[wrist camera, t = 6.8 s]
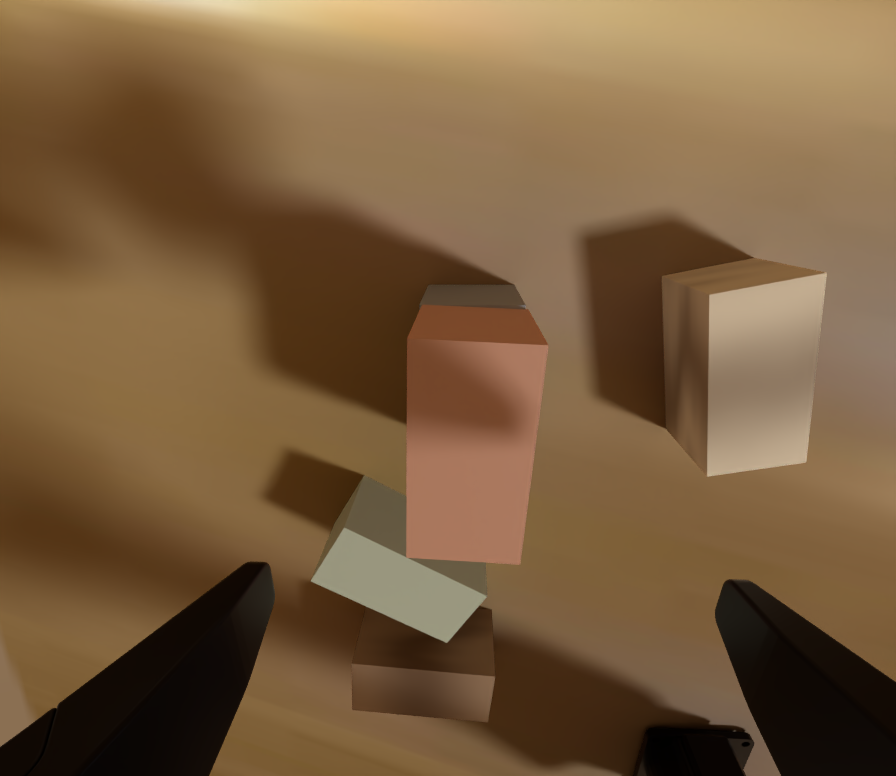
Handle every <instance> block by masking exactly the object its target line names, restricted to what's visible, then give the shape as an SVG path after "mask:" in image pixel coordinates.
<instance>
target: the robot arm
mask: <svg viewBox="0 0 896 776" xmlns="http://www.w3.org/2000/svg"><path fill="white" fill-rule="evenodd" d="M274 600H275V590H274V585H273V580H272V574H271V569H270V566H269V564H268V563H266V562H247V563H245V564H243V565H242V566H241V567H239V568H238V569H237V570H235V571H234V572H233V573H231V574H230V575H229V576H227V577H226V578H225V579H223V580H222V581H221V582H219V583H218V584H217V585H215V586H214V587H213V588H211V589H210V590H209V591H207V592H206V593H205V594H203V595H202V596H201V597H199V598H198V599H197V600H196V601H194V602H193V603H192V604H190V605H189V606H188V607H186V608H185V609H184V610H182V611H181V612H180V613H178V614H177V615H176V616H174V617H173V618H172V619H170V620H169V621H168V622H166V623H165V624H164V625H162V626H161V627H160V628H158V629H157V630H156V631H154V632H153V633H152V634H150V635H149V636H148V637H146V638H145V639H144V640H142V641H141V642H140V643H138V644H137V645H136V646H134V647H133V648H132V649H131V650H129V651H128V652H127V653H125V654H124V655H123V656H121V657H120V658H119V659H117V660H116V661H115V662H113V663H112V664H111V665H109V666H108V667H107V668H105V669H104V670H103V671H101V672H100V673H99V674H97V675H96V676H95V677H93V678H92V679H91V680H89V681H88V682H87V683H85V684H84V685H83V686H81V687H80V688H79V689H77V690H76V691H75V692H73V693H72V694H71V695H69V696H68V697H67V698H65V699H64V700H63V701H62V702H60V703H59V704H58V706H57V709H56V708H52V709H51V710H49V711H48V712H47V713H45V714H44V715H43V716H41V717H40V718H39V719H37V720H36V721H35V722H33V723H32V724H31V725H29V726H28V727H27V728H25V729H24V730H23V731H21V732H20V733H19V734H17V735H16V736H15V737H13V738H12V739H10V740H9V741H8V742H6V743H5V744H4V745H2V746H1V747H0V776H209V775H210V772H211V770H212V768H213V765H214V763H215V761H216V758H217V756H218V754H219V751H220V749H221V747H222V744H223V742H224V740H225V737H226V735H227V733H228V730H229V728H230V726H231V723H232V721H233V719H234V716H235V714H236V712H237V709H238V707H239V705H240V702H241V700H242V698H243V695H244V693H245V690H246V688H247V685H248V682H249V680H250V677H251V674H252V671H253V668H254V665H255V661H256V658H257V655H258V652H259V649H260V646H261V643H262V639H263V636H264V633H265V630H266V627H267V624H268V621H269V617H270V614H271V611H272V608H273V605H274ZM715 618H716V623H717V626H718V628H719V631H720V634H721V636H722V639H723V642H724V644H725V647H726V650H727V652H728V655H729V658H730V660H731V663H732V666H733V668H734V671H735V674H736V676H737V679H738V682H739V684H740V687H741V690H742V692H743V695H744V697H745V700H746V702H747V705H748V707H749V709H750V712H751V714H752V716H753V718H754V720H755V722H756V725H757V727H758V729H759V731H760V733H761V735H762V737H763V739H764V741H765V743H766V745H767V747H768V749H769V751H770V754H771V756H772V758H773V760H774V762H775V764H776V766H777V768H778V770H779V772H780V774H781V776H896V682H895V681H894V680H892V679H891V678H889V677H888V676H886V675H885V674H884V673H882V672H881V671H879V670H878V669H876V668H875V667H873V666H872V665H871V664H869V663H868V662H866V661H865V660H863V659H862V658H861V657H859V656H858V655H856V654H855V653H853V652H852V651H851V650H849V649H848V648H846V647H845V646H843V645H842V644H840V643H839V642H838V641H836V640H835V639H833V638H832V637H830V636H829V635H828V634H826V633H825V632H823V631H822V630H820V629H819V628H818V627H816V626H815V625H813V624H812V623H810V622H809V621H807V620H806V619H805V618H803V617H802V616H800V615H799V614H797V613H796V612H795V611H793V610H792V609H790V608H789V607H787V606H786V605H785V604H783V603H782V602H780V601H779V600H777V599H776V598H774V597H773V596H772V595H770V594H769V593H767V592H766V591H764V590H763V589H762V588H760V587H759V586H757V585H756V584H754V583H753V582H751V581H748V580H734V579H729V580H727V581H725V582H724V584H723V587H722V590H721V593H720V596H719V599H718V603H717V606H716V609H715ZM753 746H754V742H753V740H752V738H751V736H750V734H748V733H745V732H727V731H706V730H686V729H665V728H651V729H648V730H647V731H646V732H645V736H644V739H643V743H642V746H641V750H640V753H639V757H638V760H637V764H636V768H635V771H634V775H633V776H746V775H745V773H744V771H743V769H744V766H745V764H746V762H747V760H748V757H749V755H750V753H751V750H752V748H753Z"/></svg>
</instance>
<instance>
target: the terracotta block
mask: <svg viewBox="0 0 896 776" xmlns="http://www.w3.org/2000/svg"><path fill="white" fill-rule="evenodd" d="M547 353H548V344H547V342H546V340H545V338H544V336H543V335H542V333H541V331H540V329H539V328H538V326H537V324H536V322H535V320H534V319H533V317H532V315H531V313H530V312H529V310H528V309H506V308H485V307H463V306H442V305H422V306H421V308H420V310H419V313H418V315H417V317H416V319H415V322H414V324H413V326H412V328H411V331H410V333H409V335H408V338H407V503H406V558H419V559H435V560H452V561H469V562H486V563H502V564H519V565H520V562H521V554H522V547H523V539H524V531H525V523H526V516H527V508H528V500H529V492H530V485H531V477H532V469H533V461H534V454H535V446H536V438H537V431H538V423H539V415H540V407H541V400H542V392H543V384H544V376H545V369H546V361H547Z"/></svg>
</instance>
